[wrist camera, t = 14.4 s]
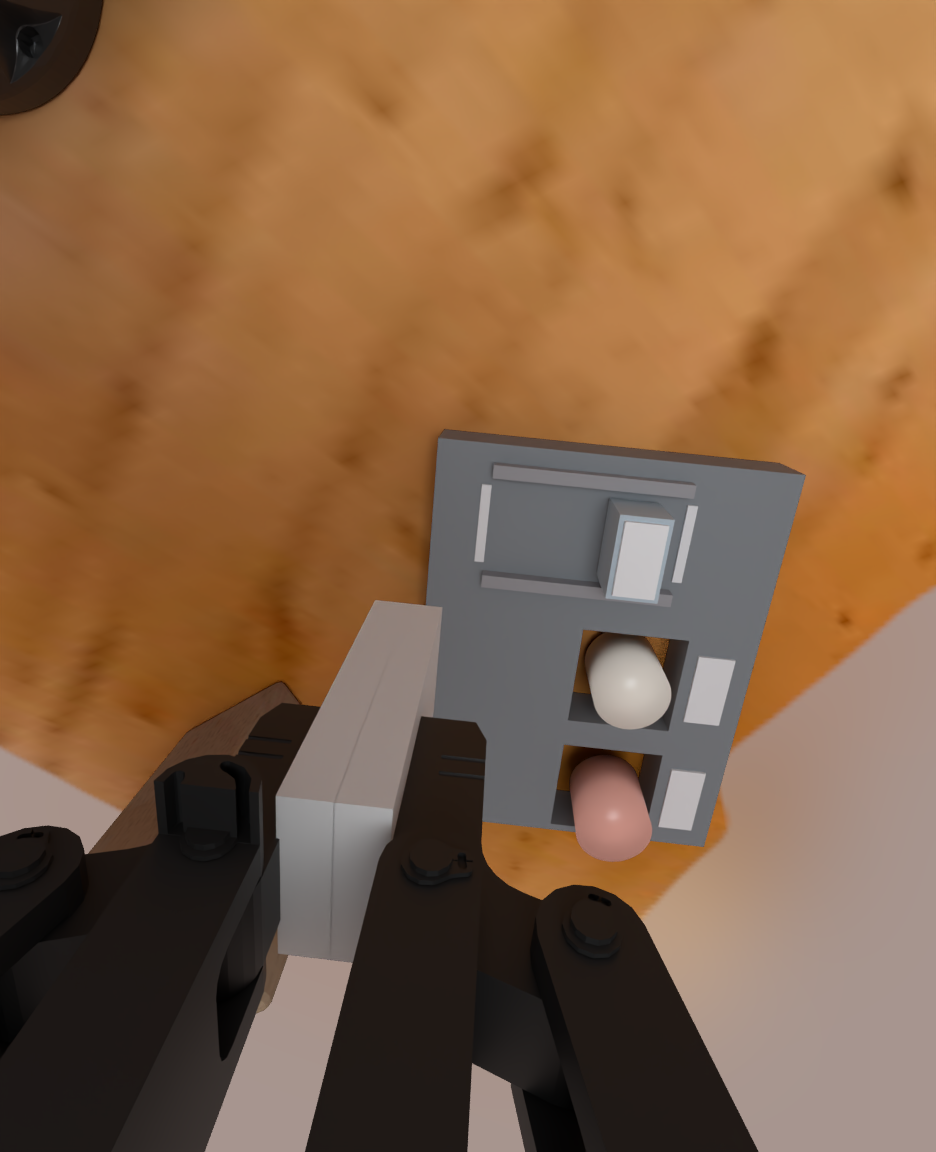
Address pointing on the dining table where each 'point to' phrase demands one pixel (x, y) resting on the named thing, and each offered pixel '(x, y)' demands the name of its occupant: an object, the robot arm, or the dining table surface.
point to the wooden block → (206, 739)
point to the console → (598, 612)
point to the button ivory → (626, 680)
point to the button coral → (609, 809)
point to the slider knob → (634, 550)
